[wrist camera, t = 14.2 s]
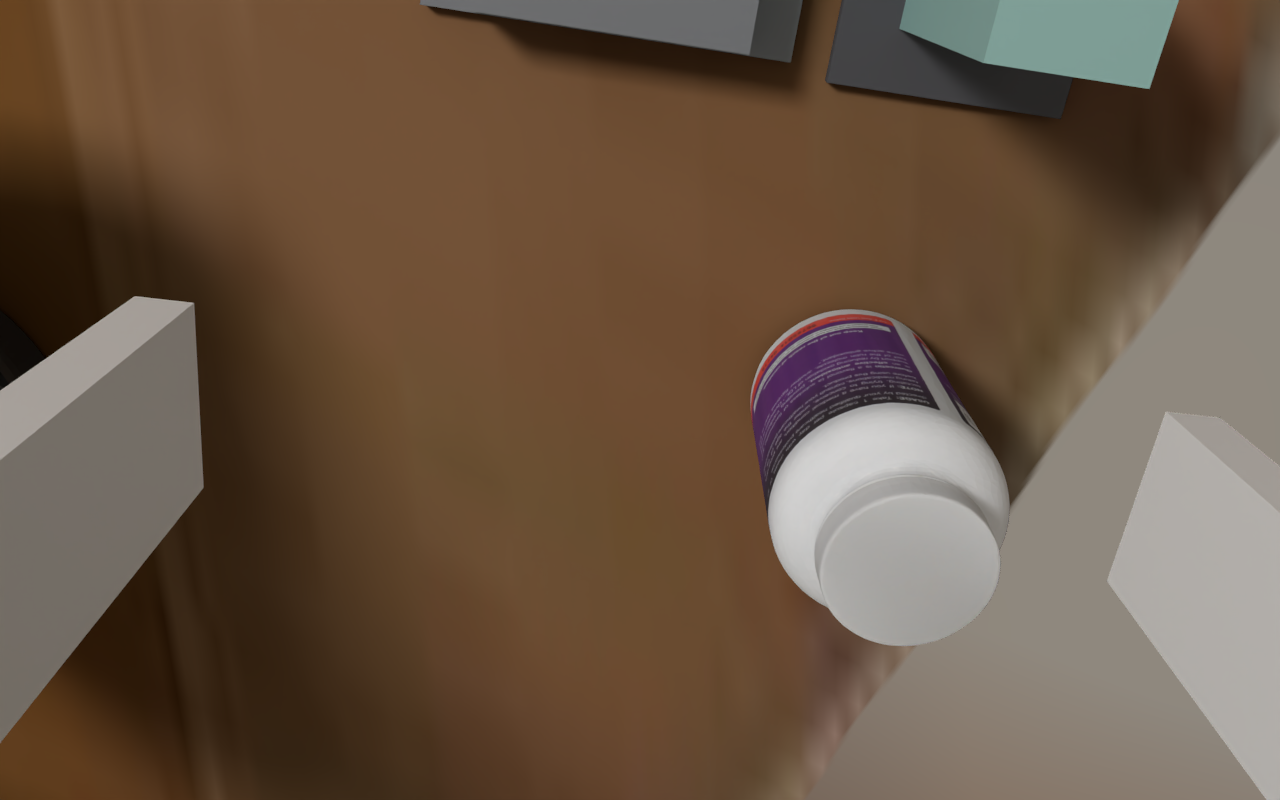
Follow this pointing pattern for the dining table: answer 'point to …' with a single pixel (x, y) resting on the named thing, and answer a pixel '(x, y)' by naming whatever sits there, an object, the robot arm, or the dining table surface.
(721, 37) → the grey socket tray
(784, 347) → the pill bottle
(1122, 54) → the plug
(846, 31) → the mat
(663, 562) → the dining table surface
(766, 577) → the dining table surface
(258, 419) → the dining table surface
